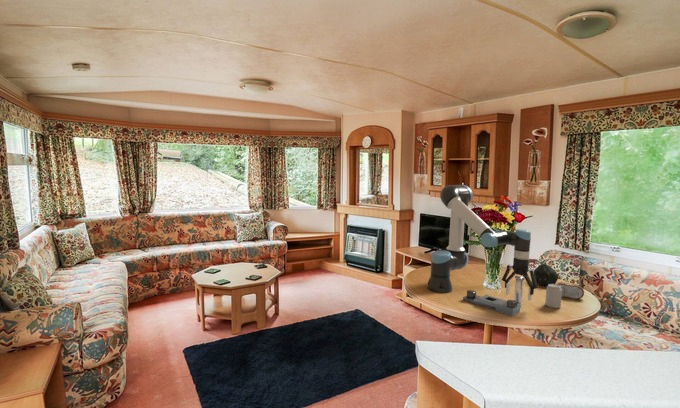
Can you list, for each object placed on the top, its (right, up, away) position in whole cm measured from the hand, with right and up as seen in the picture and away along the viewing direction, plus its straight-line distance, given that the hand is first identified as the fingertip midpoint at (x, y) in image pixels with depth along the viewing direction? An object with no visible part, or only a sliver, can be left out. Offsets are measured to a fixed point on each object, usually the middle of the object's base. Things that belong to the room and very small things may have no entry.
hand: (518, 297), depth 203 cm
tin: (+39, -5, +18) cm, 43 cm away
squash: (+37, -2, +41) cm, 56 cm away
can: (+21, -6, +3) cm, 22 cm away
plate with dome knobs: (-15, -5, +1) cm, 16 cm away
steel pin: (0, -6, +1) cm, 6 cm away
